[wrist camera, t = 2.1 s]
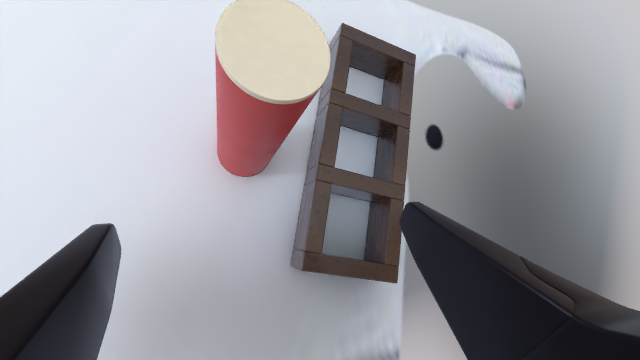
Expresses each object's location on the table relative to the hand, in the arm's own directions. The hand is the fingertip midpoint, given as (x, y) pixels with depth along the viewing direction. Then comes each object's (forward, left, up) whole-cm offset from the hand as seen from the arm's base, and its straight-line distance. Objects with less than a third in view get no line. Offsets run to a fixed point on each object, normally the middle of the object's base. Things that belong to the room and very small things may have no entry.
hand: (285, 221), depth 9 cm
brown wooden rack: (+1, -10, -12) cm, 16 cm away
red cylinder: (+5, -2, -12) cm, 13 cm away
